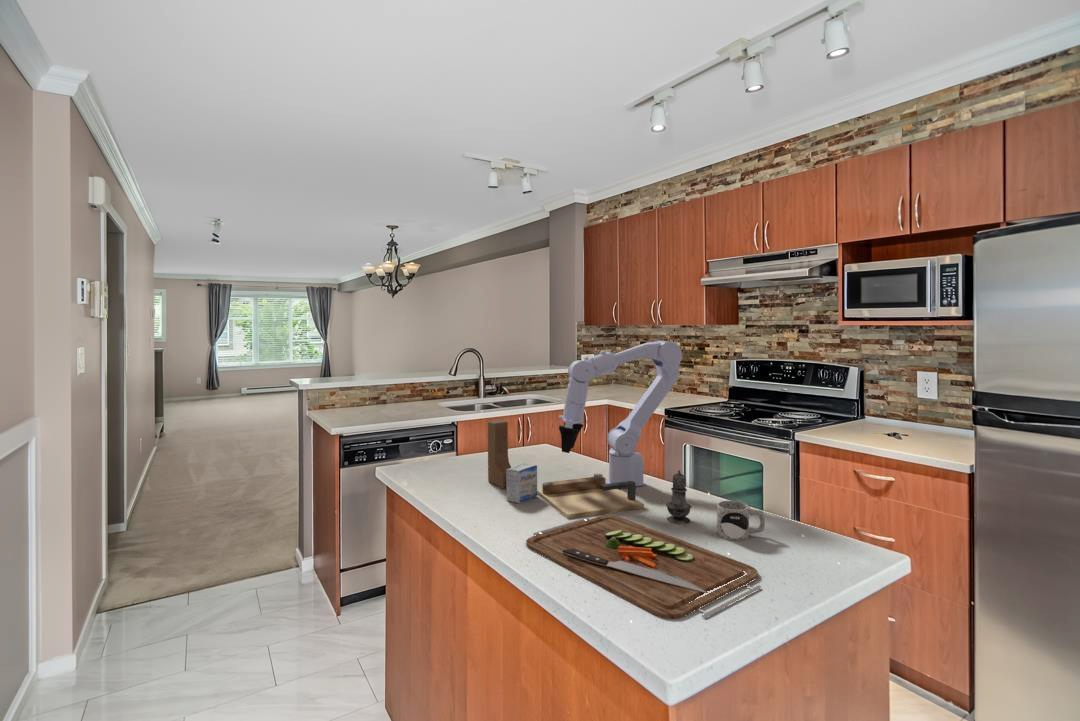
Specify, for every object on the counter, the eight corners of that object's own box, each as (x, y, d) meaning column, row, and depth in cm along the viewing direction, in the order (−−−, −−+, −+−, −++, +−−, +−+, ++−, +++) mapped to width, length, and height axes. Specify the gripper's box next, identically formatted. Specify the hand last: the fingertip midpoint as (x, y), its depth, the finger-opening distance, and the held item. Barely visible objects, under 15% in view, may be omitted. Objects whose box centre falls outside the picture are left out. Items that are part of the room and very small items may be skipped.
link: (601, 483, 158) (601, 472, 158) (608, 487, 154) (608, 475, 154) (540, 490, 152) (540, 478, 151) (545, 495, 148) (545, 482, 148)
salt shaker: (692, 525, 129) (693, 473, 128) (666, 523, 130) (666, 472, 129) (690, 516, 134) (691, 467, 134) (665, 515, 136) (666, 466, 135)
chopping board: (778, 583, 101) (778, 566, 101) (684, 634, 85) (684, 614, 85) (603, 516, 137) (603, 503, 136) (513, 542, 120) (513, 528, 120)
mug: (719, 540, 120) (720, 509, 119) (714, 528, 126) (714, 500, 126) (768, 542, 118) (769, 511, 118) (760, 531, 125) (761, 501, 125)
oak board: (605, 485, 160) (605, 482, 160) (644, 507, 141) (644, 504, 141) (536, 493, 153) (536, 490, 153) (567, 518, 133) (567, 514, 133)
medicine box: (519, 504, 144) (519, 471, 144) (506, 501, 147) (505, 468, 147) (537, 496, 151) (537, 464, 150) (524, 493, 153) (524, 462, 153)
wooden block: (516, 486, 160) (516, 424, 159) (503, 489, 158) (502, 425, 156) (500, 479, 167) (500, 419, 166) (487, 481, 165) (486, 421, 164)
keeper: (632, 501, 146) (632, 480, 146) (636, 503, 144) (636, 482, 144) (600, 505, 143) (600, 484, 142) (603, 508, 141) (603, 486, 140)
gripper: (565, 398, 166) (557, 443, 167) (557, 402, 152) (549, 451, 152) (588, 402, 165) (581, 447, 165) (583, 407, 150) (574, 456, 151)
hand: (567, 449), depth 159 cm, fingers open, 7 cm apart
